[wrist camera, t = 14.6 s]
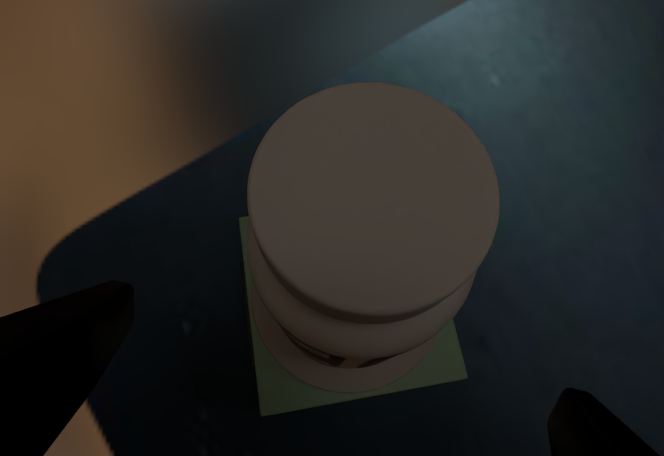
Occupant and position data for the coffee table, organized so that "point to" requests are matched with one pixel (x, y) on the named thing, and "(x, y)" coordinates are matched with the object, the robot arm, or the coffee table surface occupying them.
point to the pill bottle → (368, 221)
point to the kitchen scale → (331, 382)
